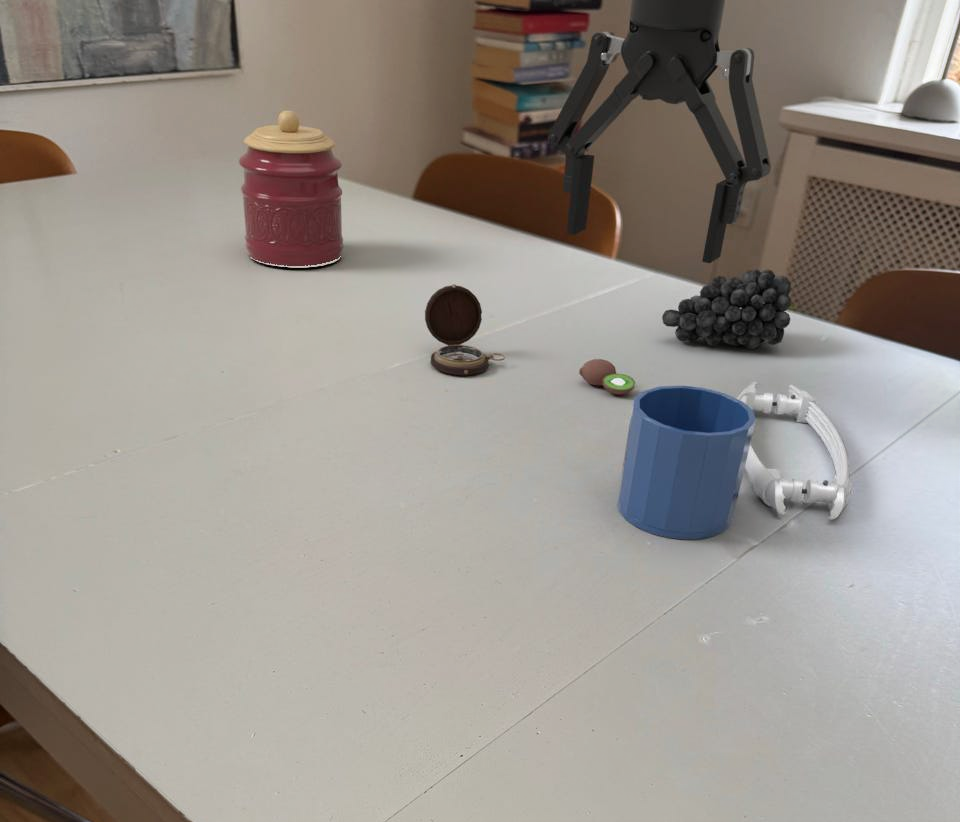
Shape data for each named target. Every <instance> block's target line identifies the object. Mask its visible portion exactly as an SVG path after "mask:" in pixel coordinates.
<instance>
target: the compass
mask: <svg viewBox="0 0 960 822" xmlns="http://www.w3.org/2000/svg"><path fill="white" fill-rule="evenodd" d="M482 313H483V310H482V306H481V303H480V301H479V299H478V298H477V296H476V295H475V294H474V293H473V292H472V291H471V290H469V289H468V288H466V287H464V286H462V285H456V284H453V283H452V284H451V285H446V286H443V287H441V288H439V289H437V290H436V291H435V292H434V293H433V294H432V295H431V296H430V298H429V299H428V302H427V303H426V306H425V310H424V321H425V325H426V328H427V330H428V331H429V333H430V335H431V336H432V337H433V338H434V339H436V340H437V341H438V342H439V343H442V344H443V345H445V346H442V347H440V348H438V349H437V350H436V351H434V352H433V353H431V355H430V364H431V366H433V368H434V369H436V370H437V371H439V372H442V373H445V374H449V375H453V376H469V375H470V376H471V375H472V376H473V375H477V374H480V373H482V372H484V371H486V370H487V368H489V361H496V362H497V361H499V362H500V361H504V360H505V359H506V356H505V355H504V354H502V353H497V352H496V353H489V354H485V353H484V352H483V351H481V350H480V349H479V348H477V347H474V346H471V345H466V344H465V343H467V342H468V341H470V340H471V339H472V338H473V337H474V336H475V335H476V334H477V333H478V331H479V329H480V327H481V323H482V321H483V318H482ZM494 356H502V357H503V358H494Z"/></svg>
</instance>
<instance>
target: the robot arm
mask: <svg viewBox="0 0 960 822" xmlns="http://www.w3.org/2000/svg"><path fill="white" fill-rule="evenodd" d="M725 5H726V0H631V3H630V13H629V27H628V31H627V34H626V36H625V38H623V37H620V36H617V35H616V34H615V33H614V32H613V31H611V30H610V31H609V30H608V31H600V32H595V33H594V34H593V35H592V36H591V38H590V39H591V40H590V45H589V50H588V54H587V59H586V63H585V64H584V66H583V68H582V70H581V72H580V73H579V76H578V78H577V79H576V81H575V83H574V85H573V87H572V90H570V93H569V95H568V97H567V99H566V100H565V102H564V104H563V106H562V108H561V110H560V112H559V114H558V116H557V117H556V119H555V122H554V123H553V125H552V127H551V128H550V131H549V133H548V135H547V141H548V144H549V145H551V146H552V147H553V146H554V147H557V148H558V149H560V150H562V152H563V153H564V155H565V161H564V173H563V180H562V181H563V182H562V188H563V192H564V194H570V195H569V196H570V197H569V204H568V205H569V207H568V214H567V215H568V216H567V223H566V234H568V235H573V236H575V235H576V234H579V233H581V232H583V231H585V230H586V229H587V224H588V215H589V206H590V196H591V188H592V179H593V172H594V163H595V162H594V161H595V155H592V154H585V153H587V152H588V151H590V149H589V148H590V147H591V146H592V145H593V144H594V143H595V142H596V141H597V140H598V138H600V136H601V135H602V134H603V133H604V132H605V131H606V130H607V129H608V128H609V127H610V126H611V124H612V123H614V121H615V120H616V119H617V118H618V117H619V116H620V114H621V113H622V112H623V111H624V110H625V109H626V108H627V107H628V106H629V105H630V104H631V103H632V102H633V101H634V100H635V99H637V97H639V96H640V97H641V100H644V101H656V100H661V101H662V102H665V103H666V104H671V105H679V104H682V103H685V104H686V106H687V108H688V110H689V112H691V113H692V114H693V116H694V118H695V119H696V121H697V124H698V126H699V127H700V130H701V132H702V134H703V137H704V138H705V140H706V141H707V144H708V146H709V147H710V150H711V152H712V154H713V156H714V158H715V160H716V162H717V164H718V166H719V169H720V170H721V172H722V175H723V176H724V179H723V180H721V181H719V182H717V183H716V184H715V190H714V195H713V200H712V204H711V205H712V206H711V212H710V217H709V223H708V227H707V233H706V240H705V244H704V250H703V254H702V260H701V261H702V263H706V264H711V263H713V262H714V261H716V260H718V259H719V258H721V254H722V251H723V250H722V249H723V244H724V239H725V234H726V229H727V224H728V225H732V224H734V223H735V222H737V220H738V219H739V216H740V215H741V209H742V203H743V198H744V194H745V188H746V185H747V183H748V182H752V181H759V180H761V179H763V178H764V177H766V176H768V175H769V174H770V173H771V170H772V164H771V160H770V155H769V150H768V147H767V141H766V138H765V133H764V128H763V124H762V119H761V114H760V109H759V105H758V101H757V96H756V91H755V86H754V81H753V74H754V65H755V64H754V62H755V52H754V50H753V49H752V48H750V47H745V48H740V49H736V50H721V47H720V44H719V36H720V32H721V27H722V22H723V16H724V10H725ZM620 55H621V59H622V61H623V63H624V65H625V68H626V70H627V73H626V74H625V75H624V77H623V78H622V79H621V80H620V81H619V82H618V83H617V84H616V85H615V86H614V88H613V91H612V92H611V93H610V94H609V96H607V97H606V99H605V100H604V101H603V102H602V103H601V104H600V105H599V106H598V107H597V109H596V110H595V111H594V112H593V114H591V115H590V116H589V118H588V119H587V120H586V121H585V122H584V123H583V125H581V126H580V128H579V129H578V130H577V131H576V129H577V127H578V125H579V124H580V122H581V120H582V119H583V116H584V114H585V113H586V112H587V109H588V107H589V106H590V104H591V102H592V100H593V99H594V97H595V94H596V92H597V90H598V89H599V87H600V85H601V83H602V82H603V80H604V78H605V76H606V74H607V72H608V70H609V68H610V66H611V64H613V63H615V62H616V61H617V60H618V57H619V56H620ZM718 68H720V69H721V71H722V76H723V78H724V79H725V80H726V81H728V89H729V94H730V95H729V96H730V99H731V104H732V108H733V113H734V117H735V121H736V126H737V130H738V135H739V139H740V144H741V147H742V153H743V155H742V154H741V151H740V149H739V147H738V144H737V143H736V141H735V139H734V137H733V135H732V133H731V131H730V129H729V126H728V125H727V122H726V120H725V118H724V116H723V114H722V112H721V110H720V108H719V106H718V104H717V101H716V99H717V98H716V95H715V94H714V91H713V89H712V87H711V85H710V83H709V81H708V80H709V78H710V77H711V76H712V74H713V73H714V72H715V71H716V70H717V69H718ZM575 131H576V132H575ZM574 133H575V134H574ZM743 156H744V157H743Z"/></svg>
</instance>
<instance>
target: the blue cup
mask: <svg viewBox="0 0 960 822" xmlns="http://www.w3.org/2000/svg"><path fill="white" fill-rule="evenodd" d="M632 400H633V401H632V407H631V412H630V413H631V414H630V419H629V426H628V432H627V439H626V444H625V445H626V446H625V452H624V458H623V463H622V464H623V465H622V470H621V476H620V477H621V478H620V484H619V489H618V500H617V508H618V511H619V513H620V515H621V516H622V518H624V519H625V520H626V521H627V522H628V523H630V524H631V525H633V527H636V528H638V529H640V530H642V531H644V532H647V533H650V534H653V535H654V536H655V535H656V536H659V537H663V538H669V539H674V540H701V539H708V538H711V537H715V536H717V535H719V534H721V533H723V532H725V531H726V530H727V529H728V528H729V526H730V525H731V522H732V518H733V517H734V515H735V510H736V506H737V501H738V498H739V493H740V490H741V485H742V482H743V481H742V480H743V477H744V472H745V469H744V468H745V464H746V460H747V455H748V451H749V447H750V444H751V443H752V438H753V432H754V429H755V425H756V416H755V410H752V409H751V408H749V407H748V406H747V405H746V404H745V403H744V402H742V401H740V400H738V398H736V397H734V396H731V395H729V394H727V393H726V392H721V391H717V390H713V389H710V388H706V387H700V386H689V385H663V386H662V385H661V386H656V387H652V388H649V389H645V390H642V391H641V392H640V393H639V394H637V395H636V396H634V398H633V399H632Z"/></svg>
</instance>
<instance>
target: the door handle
mask: <svg viewBox="0 0 960 822" xmlns="http://www.w3.org/2000/svg"><path fill="white" fill-rule="evenodd" d="M757 385H758V381H756V380H753V381H751V383H750V384H749V385H748V386H746V388H744V389H743V390H742V391H741V393H740V394H739V396H738V397H737V399H738V400H740V401H742V402H744V403H745V404H746V405H747V406H748V407H749V408H751V409H752V410H753V411H759V412H761V413H763V414H771V411H772V408H773V407H774V414H775V415H784V414H792V415H794V418H795V421H796V423H804V424H808V425H809V426H810V427H811V428H813V430H814V431H815V433H816V434H817V436H818V437H819V438H820V440H821V441H822V442H823V444H824V446H825V447H826V449H827V450H828V453H829V455H830V457H831V459H832V463H833V466H834V470H835V475H834V476H833V478H832V479H833V480H832V483H829V480H828V479H827V480H826V479H825V480H823V482H821V483H820V482H819V481H818V480H813V479H808V480H807V481H806V484H805V487H804V488H803V479H802V478H791V479H783V478H782V479H781V475H780V472H779V469H774V468H766V467H765V465H764V464H763V463H762V461H761V460H760V459H759V456H758V455H757V454H756V452H755V450H754V449H753V447H752V445H751V443H750V447H749V451H748V455H747V460H746V464H745V468H744V472H745V473H746V474H747V476H748V478H749V479H750V481H751V482H752V486H753V487H752V488H753V491H754V492H755V494H756V495H757V496H758V497H759V498H760V499H761V500H762V502H763V503H764V504H765V505H766V506H768V507H771V508H773V509H774V510H775V511H776V512H777V513H778V514H779V515H782V516H783V515H786V514H787V513H786V511H785V510H786V509H787V507H786V505H785V504H784V500H785V499H786V500H788V501H789V502H793V503H799V502H800V499H801V497H802V495H803V501H804V504H815V503H825V504H826V506H827V508H828V511H829V513H830V514H829V516H828V520H830V521H831V520H832V521H834V520H836V519H837V518H838V517H839V515H840V514H841V513H842V511H843V509H844V508H845V507H846V506H847V504H848V502H849V499H850V497H851V494H852V490H853V484H852V482H851V480H850V463H849V458H848V453H847V451H846V447H845V445H844V442H843V440H842V438H841V435H840V434H839V432H838V430H837V429H836V427H835V426H834V424H833V423H832V421H831V419H829V417H828V416H827V415H826V414H825V413H824V411H823V410H822V409H821V407H819V403H818V401H817V400H816V399H815V398H814V397H812V396H811V395H810V394H809V393H808V392H807V391H805V390H800V389H799V388H798V387H796V386H795V385H794V384H790V385H789V389H788V394H789V396H787V395H786V394H781V393H778V394H777V396H776V399H775V401H774V394H773V393H772V392H764V393H762V394H760V393H757V390H756V389H757Z"/></svg>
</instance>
